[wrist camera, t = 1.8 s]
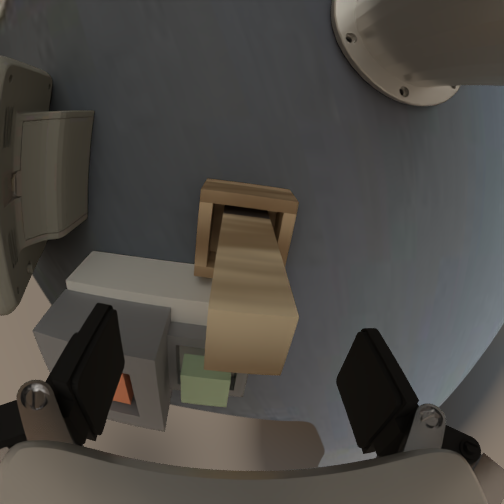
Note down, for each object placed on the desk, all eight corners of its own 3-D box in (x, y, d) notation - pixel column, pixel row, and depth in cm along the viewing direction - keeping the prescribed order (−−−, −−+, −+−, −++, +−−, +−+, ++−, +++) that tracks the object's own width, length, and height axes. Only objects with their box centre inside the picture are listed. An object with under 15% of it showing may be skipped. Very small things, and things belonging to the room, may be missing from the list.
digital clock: (43, 64, 15) (-48, 56, 5) (127, 78, 16) (41, 54, 7) (13, 232, 21) (-56, 287, 11) (82, 264, 23) (20, 340, 13)
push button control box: (90, 250, 22) (29, 320, 13) (254, 271, 23) (263, 363, 14) (104, 337, 26) (69, 411, 17) (238, 357, 28) (240, 443, 19)
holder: (207, 178, 20) (201, 189, 17) (289, 189, 21) (298, 202, 17) (199, 253, 23) (193, 276, 19) (275, 262, 23) (280, 285, 20)
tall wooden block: (224, 204, 20) (208, 308, 9) (267, 210, 20) (299, 317, 9) (220, 243, 21) (203, 369, 10) (260, 248, 21) (280, 375, 11)
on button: (184, 353, 18) (180, 374, 17) (231, 358, 19) (230, 380, 17) (184, 381, 20) (181, 402, 18) (226, 386, 20) (226, 407, 18)
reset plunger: (81, 346, 16) (73, 361, 15) (128, 357, 17) (122, 373, 15) (92, 379, 18) (86, 393, 16) (135, 389, 18) (130, 404, 17)
